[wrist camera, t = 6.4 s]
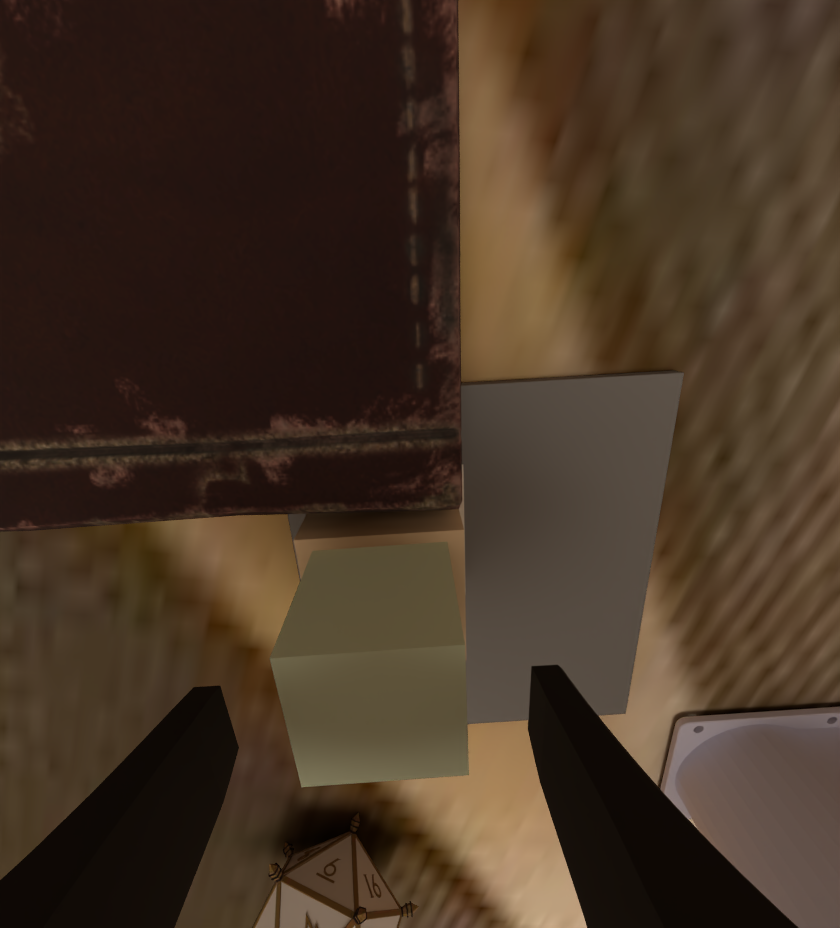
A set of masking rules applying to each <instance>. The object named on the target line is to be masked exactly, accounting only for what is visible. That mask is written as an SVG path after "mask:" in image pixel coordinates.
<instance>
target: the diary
mask: <svg viewBox="0 0 840 928" xmlns="http://www.w3.org/2000/svg"><path fill="white" fill-rule="evenodd" d="M461 503H462V441H461V343H460V152H459V52H458V0H0V532H1V531H33V530H46V529H60V528H73V527H87V526H100V525H114V524H128V523H141V522H155V521H168V520H182V519H195V518H209V517H223V516H236V515H270V514H313V513H355V512H398V511H433V510H452V509H459V508H460V505H461Z"/></svg>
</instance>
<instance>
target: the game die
mask: <svg viewBox="0 0 840 928" xmlns="http://www.w3.org/2000/svg"><path fill="white" fill-rule="evenodd" d="M351 820H352V822H351V824H350V825H351V829H350V832H347V833H345V834H342V835H340V836H337V837H335V838H332V839H330V840H327V841H325V842H322V843H320V844H317V845H315V846H312V847H310V848H307V849H305V850H302V851H300V852H297V853H295V854H293V850H294V848H292V844H288V843H286V842H285V845H284V849H283V852H284V854H285V857H287V858H288V860H287V862H286V863H285V865H284V867H283V868H282V869H281V868H280V866H279V865H278V864H277V863H275V864H269V868H270V871H269V877H271V878H272V879H271V880H276V881H275V883H274V885H273V887H272V889H271V891H270V893H269V895H268V897H267V899H266V901H265V903H264V905H263V907H262V909H261V911H260V912H259V914H258V916H257V918H256V920H255V922H254V924H253V926H252V928H399V925H400V921H401V918H402V916H407V918H408V916H411V917H413V914H414V912H415V911H416V909H417V908H418V907H419V906H417V905H415V904H413V903H411V901H410V903H408V904H407V903H405V905H404V906H403V907H401V906H400V905H399V903H398V902H397V900H396V898H395V897H394V895H393V893H392V892H391V890H390V889H389V887H388V885H387V884H386V882H385V881H384V879H383V877H382V876H381V874H380V872H379V871H378V869H377V868H376V866H375V864H374V863H373V861H372V860H371V858H370V856H369V855H368V853H367V851H366V850H365V848H364V847H363V845H362V843H361V842H360V840H359V839H358V837H357V835H356V830H357V829H358V828H359V823H360V819H359V812H358V813H357V814H356V815H355V817H354V818H353V819H352V818H351Z"/></svg>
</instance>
